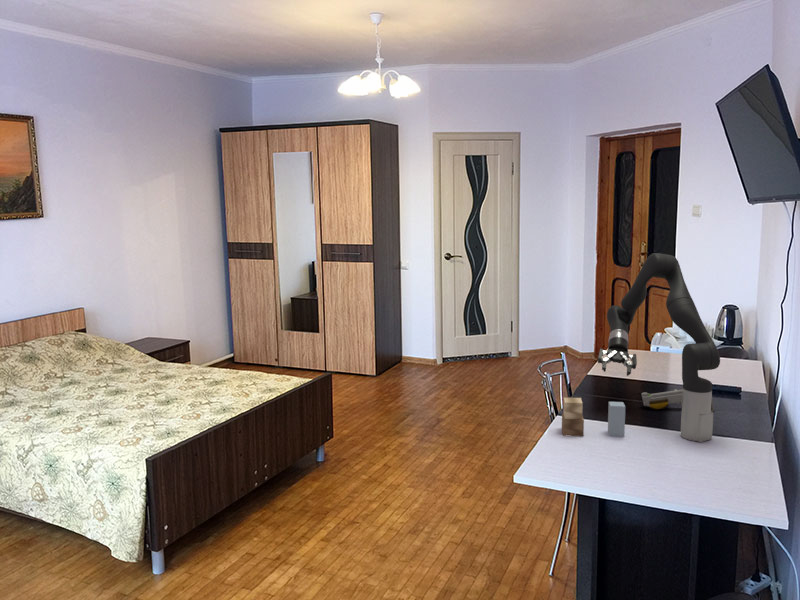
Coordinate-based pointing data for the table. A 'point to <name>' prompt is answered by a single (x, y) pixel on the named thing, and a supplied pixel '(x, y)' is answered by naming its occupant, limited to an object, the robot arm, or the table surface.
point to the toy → (665, 399)
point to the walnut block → (572, 426)
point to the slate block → (616, 419)
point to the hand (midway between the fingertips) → (616, 372)
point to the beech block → (573, 408)
